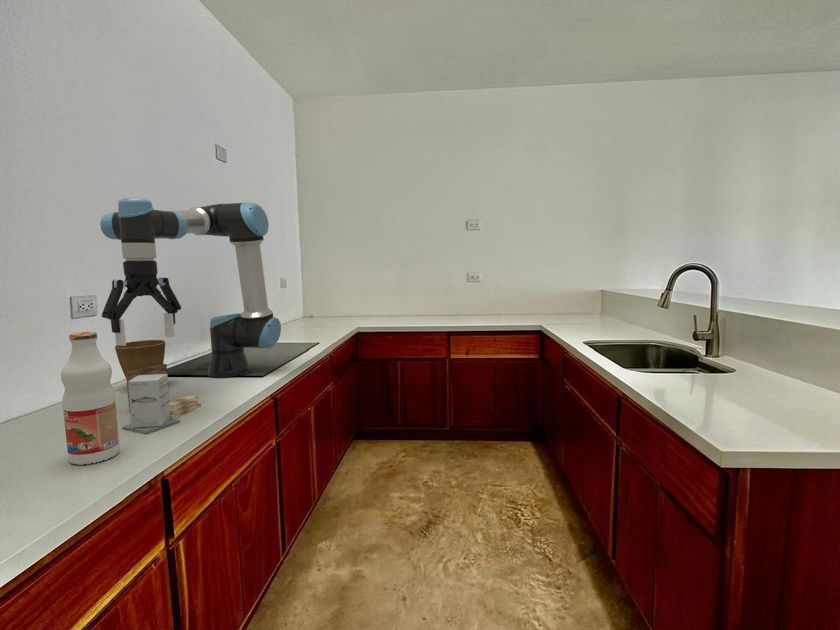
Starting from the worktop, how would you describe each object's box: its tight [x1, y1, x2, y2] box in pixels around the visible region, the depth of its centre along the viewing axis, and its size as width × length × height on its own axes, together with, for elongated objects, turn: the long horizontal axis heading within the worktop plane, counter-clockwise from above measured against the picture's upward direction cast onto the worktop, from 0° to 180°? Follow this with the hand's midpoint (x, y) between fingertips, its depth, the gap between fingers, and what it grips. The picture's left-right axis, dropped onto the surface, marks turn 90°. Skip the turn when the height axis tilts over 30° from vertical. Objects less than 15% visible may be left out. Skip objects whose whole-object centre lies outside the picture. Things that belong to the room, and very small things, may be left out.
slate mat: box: [121, 418, 181, 435], centre depth 122 cm, size 10×10×1 cm
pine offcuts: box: [169, 394, 202, 419], centre depth 133 cm, size 11×4×4 cm, turn 165°
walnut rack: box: [125, 363, 170, 414], centre depth 138 cm, size 12×1×12 cm, turn 156°
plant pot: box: [114, 339, 166, 380], centre depth 158 cm, size 15×15×16 cm
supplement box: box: [128, 373, 170, 428], centre depth 122 cm, size 7×7×13 cm
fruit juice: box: [60, 331, 120, 466], centre depth 101 cm, size 9×9×28 cm
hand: (146, 340), depth 121 cm, fingers open, 13 cm apart
